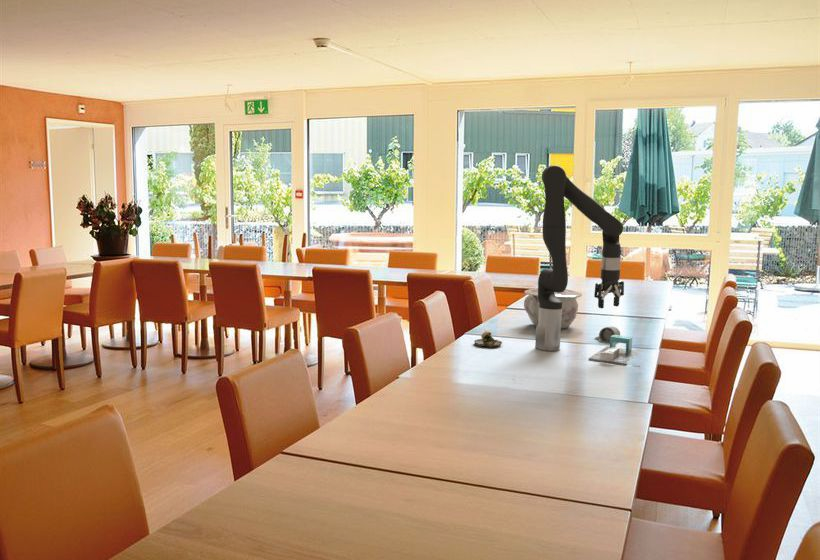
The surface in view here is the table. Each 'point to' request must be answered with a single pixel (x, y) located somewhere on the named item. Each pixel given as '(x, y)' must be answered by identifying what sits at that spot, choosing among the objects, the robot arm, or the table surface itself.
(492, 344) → the mottled brown knobbed disc
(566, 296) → the chamber pot
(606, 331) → the ceramic mug
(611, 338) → the block
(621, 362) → the base
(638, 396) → the table surface
